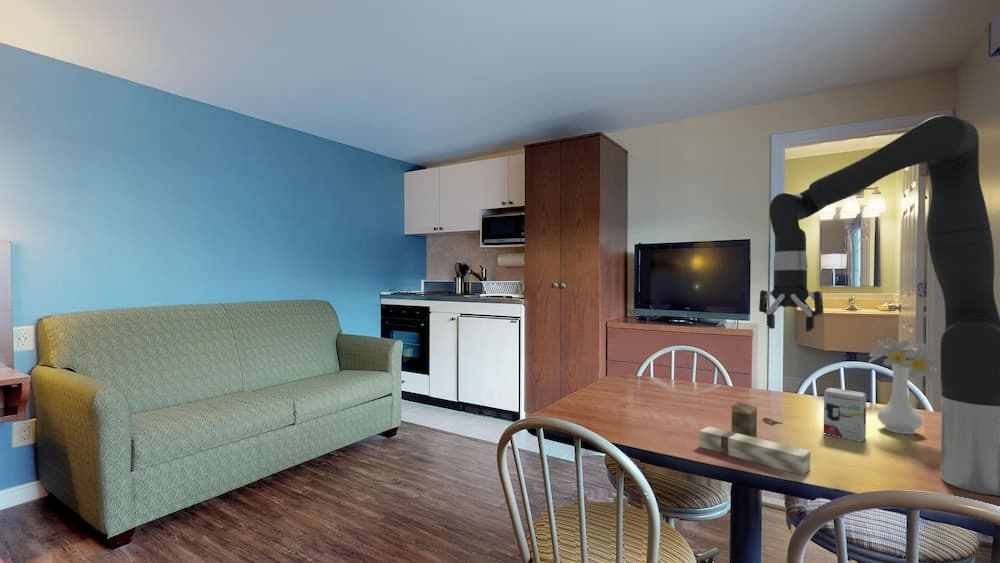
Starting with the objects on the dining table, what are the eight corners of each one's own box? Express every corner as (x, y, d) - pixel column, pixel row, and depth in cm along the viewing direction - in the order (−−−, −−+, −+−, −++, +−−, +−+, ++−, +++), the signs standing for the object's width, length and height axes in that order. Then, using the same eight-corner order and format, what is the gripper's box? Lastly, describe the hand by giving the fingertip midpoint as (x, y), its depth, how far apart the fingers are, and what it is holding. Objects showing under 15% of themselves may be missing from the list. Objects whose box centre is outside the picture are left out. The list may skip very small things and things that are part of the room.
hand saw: (710, 404, 151) (710, 402, 151) (722, 403, 152) (722, 401, 152) (771, 427, 128) (771, 424, 128) (784, 425, 129) (784, 423, 129)
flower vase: (904, 443, 114) (905, 344, 114) (854, 420, 133) (855, 335, 132) (960, 445, 113) (961, 345, 113) (902, 421, 131) (902, 335, 131)
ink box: (822, 434, 121) (822, 390, 121) (826, 429, 124) (826, 387, 124) (863, 442, 115) (863, 396, 115) (866, 437, 118) (866, 392, 118)
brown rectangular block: (756, 441, 115) (756, 406, 115) (750, 445, 112) (750, 409, 112) (738, 437, 118) (738, 402, 118) (731, 441, 115) (731, 406, 115)
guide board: (810, 469, 98) (810, 450, 98) (803, 476, 95) (803, 456, 95) (708, 441, 115) (708, 425, 115) (699, 446, 111) (699, 430, 111)
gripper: (755, 269, 123) (755, 328, 123) (818, 268, 112) (817, 333, 112) (765, 269, 128) (765, 326, 128) (826, 268, 117) (825, 331, 117)
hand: (789, 329), depth 120 cm, fingers open, 8 cm apart
